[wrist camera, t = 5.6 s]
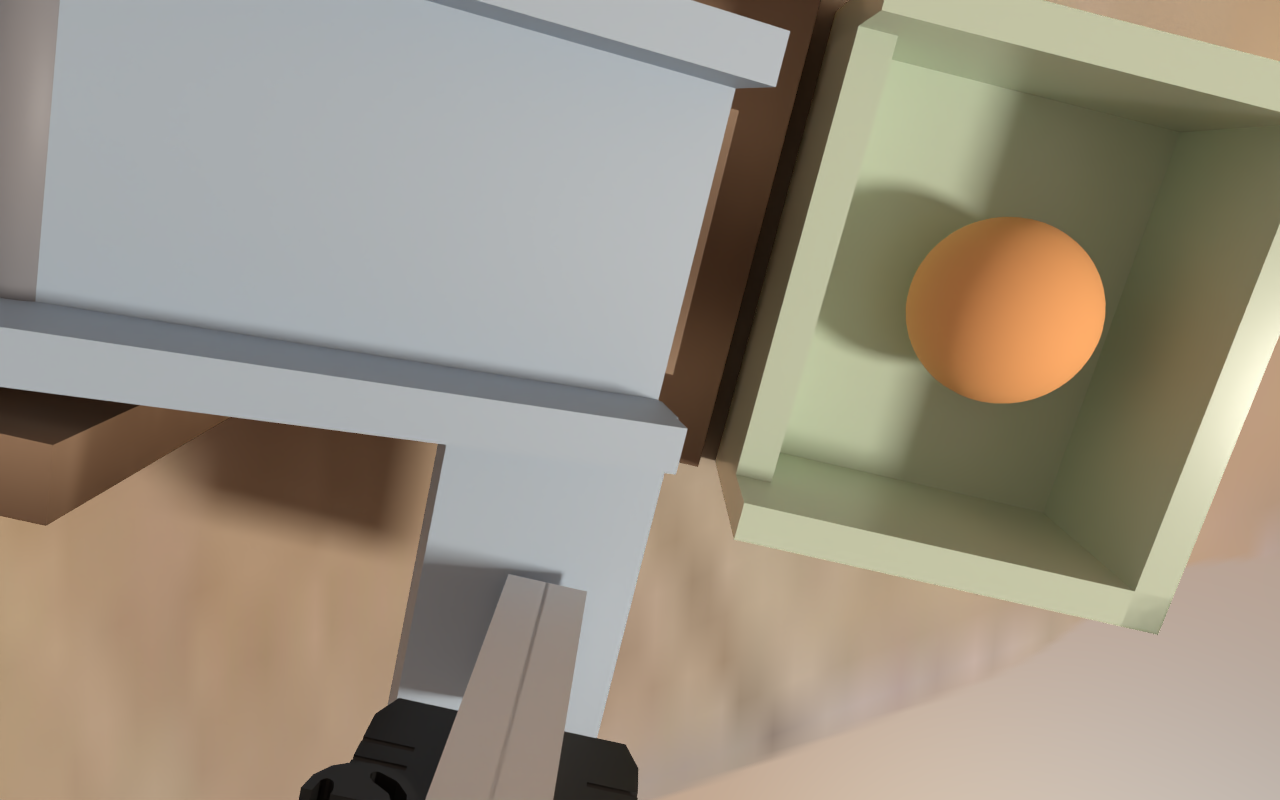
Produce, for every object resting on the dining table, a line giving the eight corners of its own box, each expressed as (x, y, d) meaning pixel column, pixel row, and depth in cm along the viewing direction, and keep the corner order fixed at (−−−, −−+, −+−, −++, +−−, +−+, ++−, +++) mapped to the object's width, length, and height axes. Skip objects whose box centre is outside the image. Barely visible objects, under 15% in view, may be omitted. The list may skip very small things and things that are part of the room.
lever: (-1030, -528, 10) (-1996, -964, 6) (751, 26, 16) (876, 3, 12) (-841, 661, 13) (-1372, 909, 9) (580, 713, 20) (637, 866, 16)
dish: (835, 11, 21) (894, -38, 16) (1208, 107, 22) (1380, 87, 17) (714, 461, 24) (734, 539, 19) (1051, 538, 24) (1158, 634, 19)
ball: (911, 188, 19) (1118, 232, 17) (966, 209, 22) (1146, 248, 20) (856, 374, 20) (1045, 438, 18) (917, 367, 23) (1083, 421, 21)
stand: (-216, -256, 20) (-1125, -707, 10) (814, 6, 21) (974, -150, 11) (-224, 246, 23) (-949, 309, 12) (696, 456, 24) (734, 675, 13)
